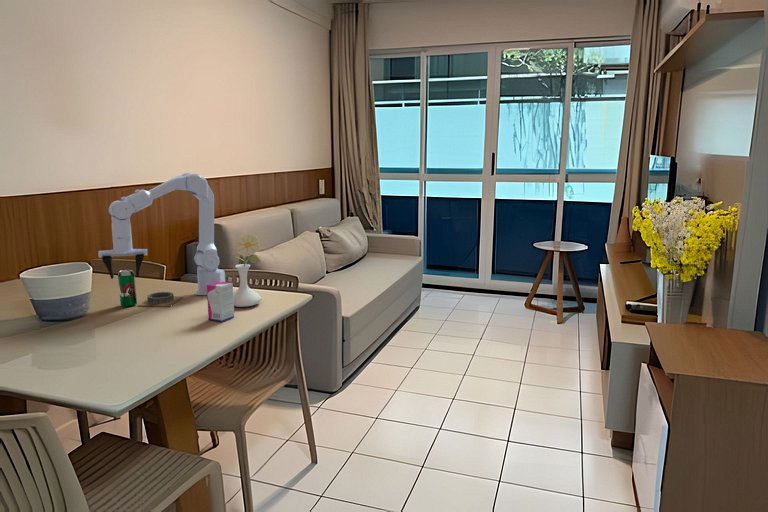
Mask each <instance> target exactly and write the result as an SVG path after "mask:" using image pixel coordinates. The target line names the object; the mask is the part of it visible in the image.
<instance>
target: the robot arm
mask: <svg viewBox="0 0 768 512" xmlns="http://www.w3.org/2000/svg"><path fill="white" fill-rule="evenodd" d="M173 191H185V192H188V193H190V194H192V195H193V196H194V197H195V198H196V199H197V200H198V244H197V246H196V253H195V254H194V257H193V260H194V263H195V264H196V265H197V268H196V276H197V288H198V289H197V290H198V291H196V292H195V293H194V296H207V284H211V283H215V282H218V281H221V282H226V273H225V270H224V269H220V268H218V267H219V265H220V263H221V262H220V257H219V256H218V249H217V247H216V245H215V195H214V192H213V190H212V189H211V187H210V185H209V182H208V179H206V178H205V177H203V176H202V175H200V174H197V173H191V172H186V173H182V174H181V175H177V176H175V177H172V178H170V179H168V180H166V181H165V182H162V183H160V184H159V185H157V186H155V187H153V188H151V189H149V190H145V189H138V188H137V189H136V190H134V192H133V193H132V194H130V195H127V196H122V197H120V199H121V200H114V201H112V202H111V203H110V205H109V207H108V210H107V211H108V213H109V215H111V234H112V237H111V238H112V246H113V247H112V249H106V250H99V251H98V252H97V253H98V258H100V259H101V258H102V259H101V260H102V262H103V263H104V265H105V267H106V269H107V271H108V273H109V276H110V280H111V279H112V280H113V279H114V278H115V275H114V268H113V257H132V256H133V257H135V278H139V277H140V269H141V266H142V263H143V260H144V257H145V256H148V248H133V238H132V237H133V236H132V235H133V234H132V223H131V216H132V214H135V213H138V212H139V211H142V210H143V209H146V208H147V207H149V206H151V205H152V204H153V202H154V200H155V199H157V198H159V197H162V196H165V195H167V194H169V193H171V192H173Z"/></svg>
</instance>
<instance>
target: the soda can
mask: <svg viewBox="0 0 768 512" xmlns="http://www.w3.org/2000/svg"><path fill="white" fill-rule="evenodd" d="M117 281H118V293H119V302H120V306H121V307H122V308H131V307H135V306H136V305H138V299H137V298H138V297H137V288H136V273H135V272H134V270H132V269H123V270H122V269H121V270H120V271H118V274H117Z"/></svg>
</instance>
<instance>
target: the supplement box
mask: <svg viewBox="0 0 768 512" xmlns="http://www.w3.org/2000/svg"><path fill="white" fill-rule="evenodd" d="M233 287H234V285H233V282H227V281H225V282H221V281H218V282H215V283H211V284H207V295H206V297H207V317H208V318H207V319H208V321H213V322H218V323H224V322H227V321H229V320H232V319H234V318H235V309H234V308H235V306H234V302H233V293H234V288H233Z"/></svg>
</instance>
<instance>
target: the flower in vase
mask: <svg viewBox="0 0 768 512" xmlns="http://www.w3.org/2000/svg"><path fill="white" fill-rule="evenodd" d="M234 247H235V250H236V251H237V253H238V254H239V255H240V256H244V257H248V258H247V260H244V259H242V258H241V257H238V256H236V258H237V259H239V260H241V261H243V262H244V263H242V264H241V263H240V264H239V263H238V264H236V265H234V266H235V269H236V270H237V271H238V274H239V287H238V289H236V290H235V291H233V302H234V307H237V308H239V307H240V308H241V307H242V308H245V307H252V306H255V305H257V304H259V303H260V302H261V301H262V297H261V296H260V294H259V293H257V292H256V291H254V290H252V289H251V288H250V286H248V272H249V269H250V267H251V264H247V262H248V261H250V263H252V264H256V263H260V262H261V259H260V258H259V257H258V256H257V255H255V254H256V253H257V252H258V250H259V249H260V247H261V242H260V240H259V237H257V235H254V234H251V233H246V234H243V235H242V236H239V237H238V239H237V240H236V243H235V246H234Z"/></svg>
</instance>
